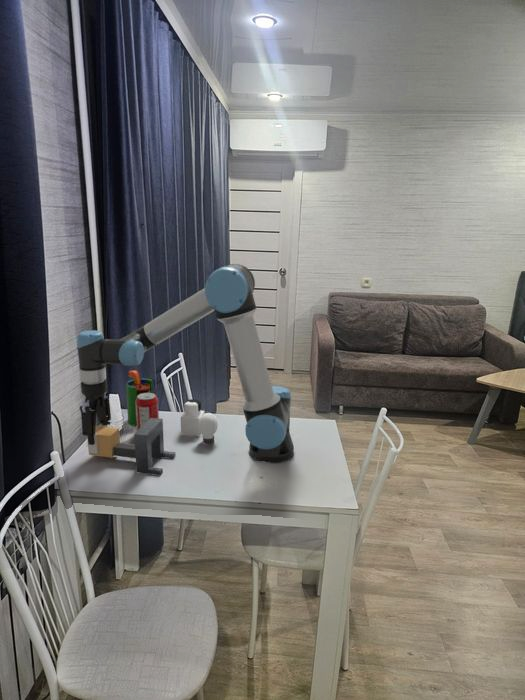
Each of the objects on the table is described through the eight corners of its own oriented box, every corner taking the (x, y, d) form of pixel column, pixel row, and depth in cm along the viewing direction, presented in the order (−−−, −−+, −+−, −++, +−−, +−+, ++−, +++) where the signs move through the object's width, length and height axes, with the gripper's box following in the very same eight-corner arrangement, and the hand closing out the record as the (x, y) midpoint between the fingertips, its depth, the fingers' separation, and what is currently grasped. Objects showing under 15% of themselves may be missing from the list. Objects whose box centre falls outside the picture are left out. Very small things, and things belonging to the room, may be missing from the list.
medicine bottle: (186, 426, 168) (186, 396, 165) (205, 427, 167) (204, 398, 164) (180, 434, 161) (179, 404, 158) (199, 436, 160) (199, 405, 157)
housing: (175, 456, 146) (174, 420, 142) (160, 475, 135) (159, 436, 131) (152, 453, 147) (151, 417, 144) (136, 472, 136) (134, 433, 132)
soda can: (140, 440, 156) (138, 401, 152) (134, 432, 162) (132, 393, 158) (162, 436, 160) (160, 397, 156) (155, 427, 166) (154, 390, 162)
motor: (144, 427, 166) (142, 377, 161) (123, 424, 168) (119, 375, 162) (156, 416, 176) (154, 368, 170) (135, 414, 177) (132, 367, 172)
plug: (146, 452, 144) (144, 431, 142) (138, 460, 139) (137, 439, 137) (98, 446, 147) (96, 426, 145) (88, 454, 141) (87, 433, 139)
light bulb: (221, 440, 157) (221, 412, 154) (210, 448, 152) (210, 419, 149) (205, 436, 160) (205, 408, 157) (194, 443, 155) (194, 414, 152)
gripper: (98, 370, 147) (103, 434, 153) (64, 389, 129) (71, 460, 135) (119, 372, 145) (123, 436, 152) (87, 391, 128) (94, 463, 134)
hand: (99, 447), depth 143 cm, fingers closed on plug, 5 cm apart
